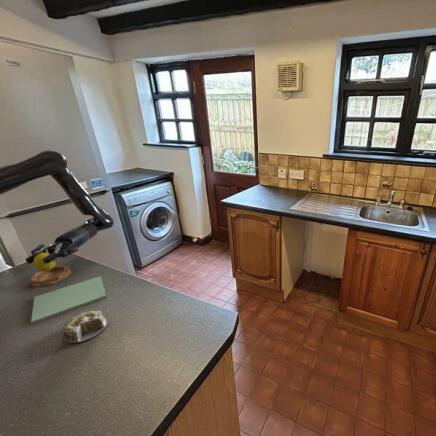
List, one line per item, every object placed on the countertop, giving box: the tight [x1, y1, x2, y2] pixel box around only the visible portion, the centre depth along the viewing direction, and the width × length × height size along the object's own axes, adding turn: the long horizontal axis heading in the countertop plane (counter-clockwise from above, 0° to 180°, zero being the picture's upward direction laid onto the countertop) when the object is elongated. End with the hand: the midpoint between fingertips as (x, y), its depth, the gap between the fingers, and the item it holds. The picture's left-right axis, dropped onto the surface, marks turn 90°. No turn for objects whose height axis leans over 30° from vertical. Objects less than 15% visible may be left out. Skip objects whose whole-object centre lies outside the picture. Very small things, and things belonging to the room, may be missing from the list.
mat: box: [30, 275, 107, 324], centre depth 82 cm, size 18×14×1 cm
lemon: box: [33, 252, 57, 271], centre depth 89 cm, size 6×6×8 cm
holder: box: [30, 264, 72, 287], centre depth 92 cm, size 11×11×2 cm
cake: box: [62, 310, 108, 344], centre depth 69 cm, size 10×10×5 cm
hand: (36, 261), depth 86 cm, fingers closed on lemon, 5 cm apart
